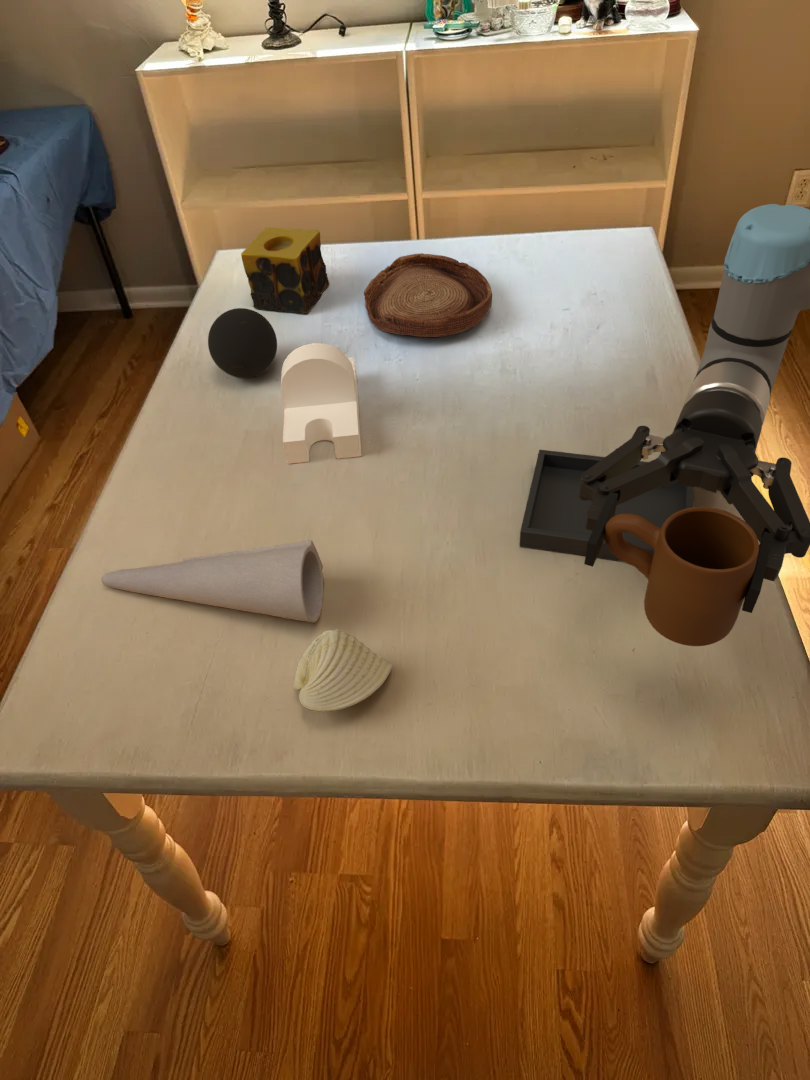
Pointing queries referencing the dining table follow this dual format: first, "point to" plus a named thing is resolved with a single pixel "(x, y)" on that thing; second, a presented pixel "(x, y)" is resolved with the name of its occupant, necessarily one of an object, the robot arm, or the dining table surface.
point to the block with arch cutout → (320, 402)
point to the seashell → (338, 672)
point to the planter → (238, 580)
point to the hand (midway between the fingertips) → (667, 577)
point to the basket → (427, 296)
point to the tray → (585, 506)
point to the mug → (690, 570)
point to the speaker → (242, 343)
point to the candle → (285, 269)
